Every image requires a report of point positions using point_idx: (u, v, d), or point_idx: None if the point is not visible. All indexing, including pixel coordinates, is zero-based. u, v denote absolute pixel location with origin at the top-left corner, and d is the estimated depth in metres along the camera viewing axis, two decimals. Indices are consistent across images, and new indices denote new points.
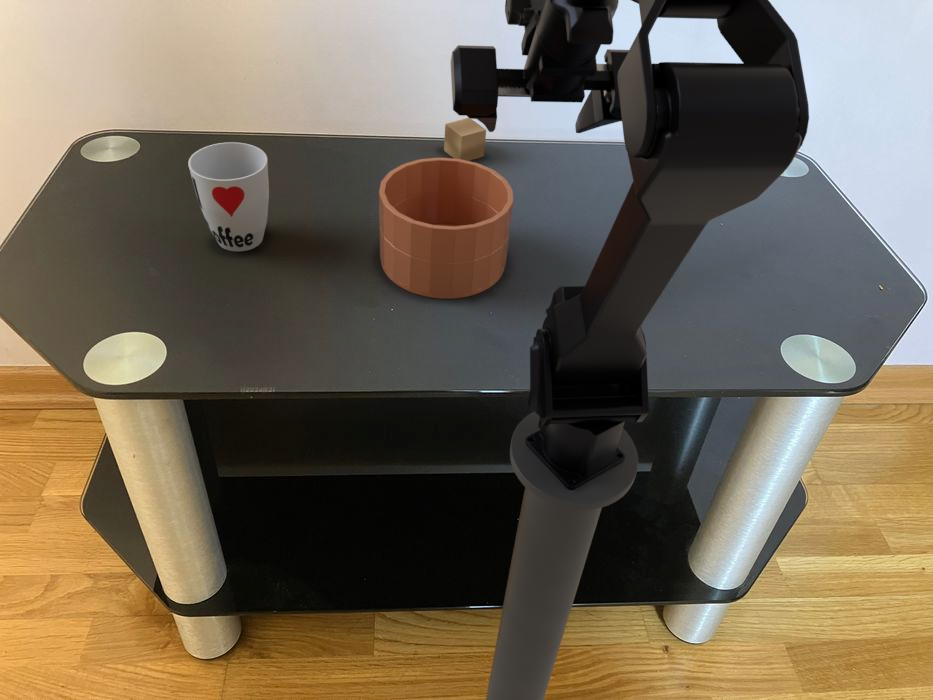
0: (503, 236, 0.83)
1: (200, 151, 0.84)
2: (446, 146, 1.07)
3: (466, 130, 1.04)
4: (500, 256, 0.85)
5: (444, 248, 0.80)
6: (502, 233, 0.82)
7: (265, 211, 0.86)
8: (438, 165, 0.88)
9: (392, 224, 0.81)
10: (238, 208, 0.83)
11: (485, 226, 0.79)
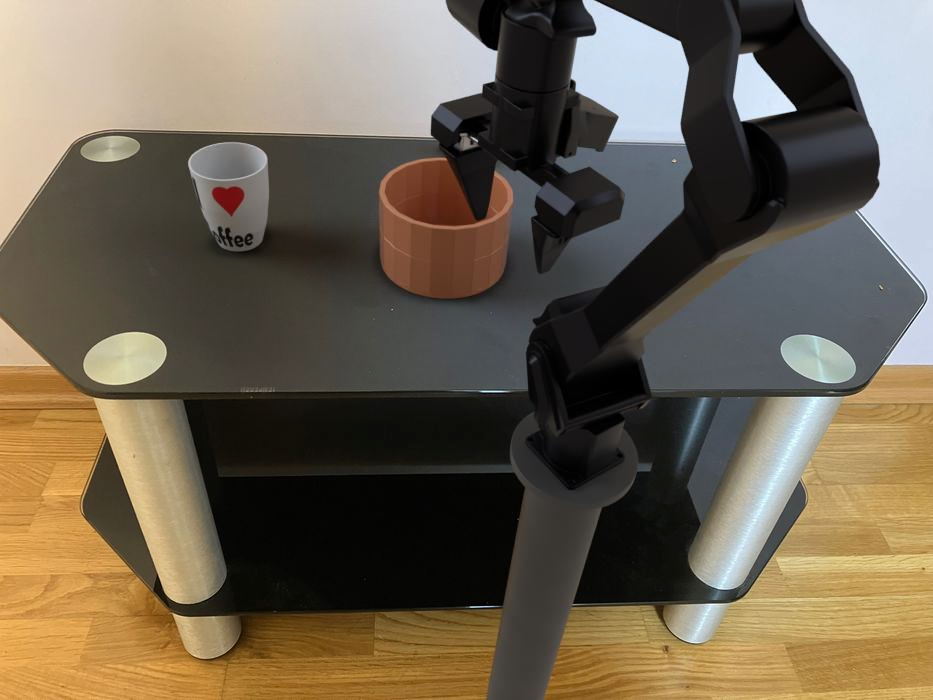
0: (503, 236, 0.83)
1: (200, 151, 0.84)
2: None
3: None
4: (500, 256, 0.85)
5: (444, 248, 0.80)
6: (502, 233, 0.82)
7: (265, 211, 0.86)
8: (438, 165, 0.88)
9: (392, 224, 0.81)
10: (238, 208, 0.83)
11: (485, 226, 0.79)
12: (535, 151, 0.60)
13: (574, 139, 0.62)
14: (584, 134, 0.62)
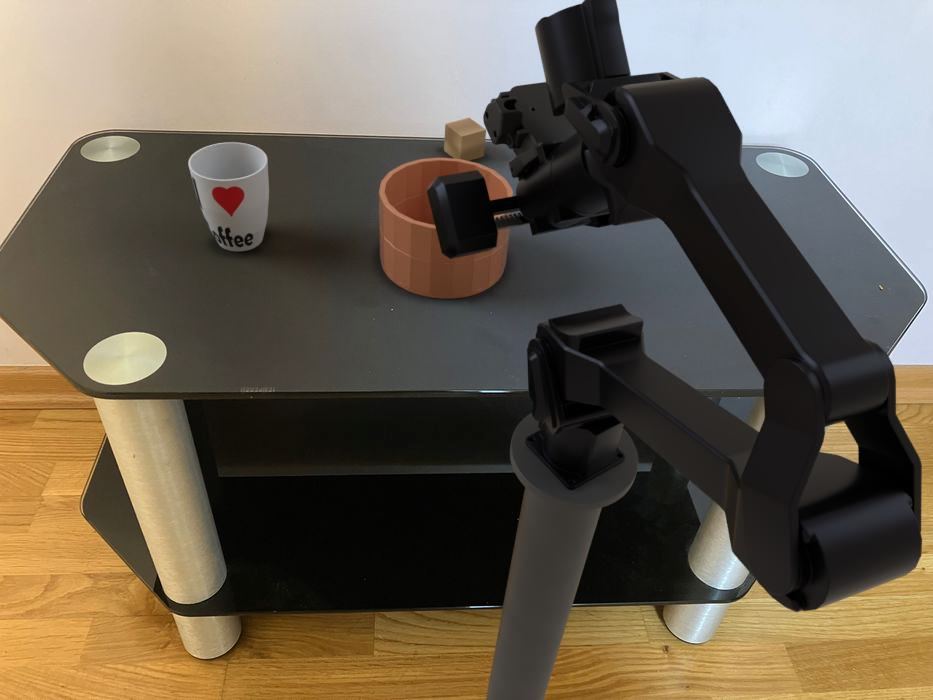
0: (503, 236, 0.83)
1: (200, 151, 0.84)
2: (446, 146, 1.07)
3: (466, 130, 1.04)
4: (500, 256, 0.85)
5: None
6: (502, 233, 0.82)
7: (265, 211, 0.86)
8: (438, 165, 0.88)
9: (392, 224, 0.81)
10: (238, 208, 0.83)
11: None
12: None
13: None
14: None
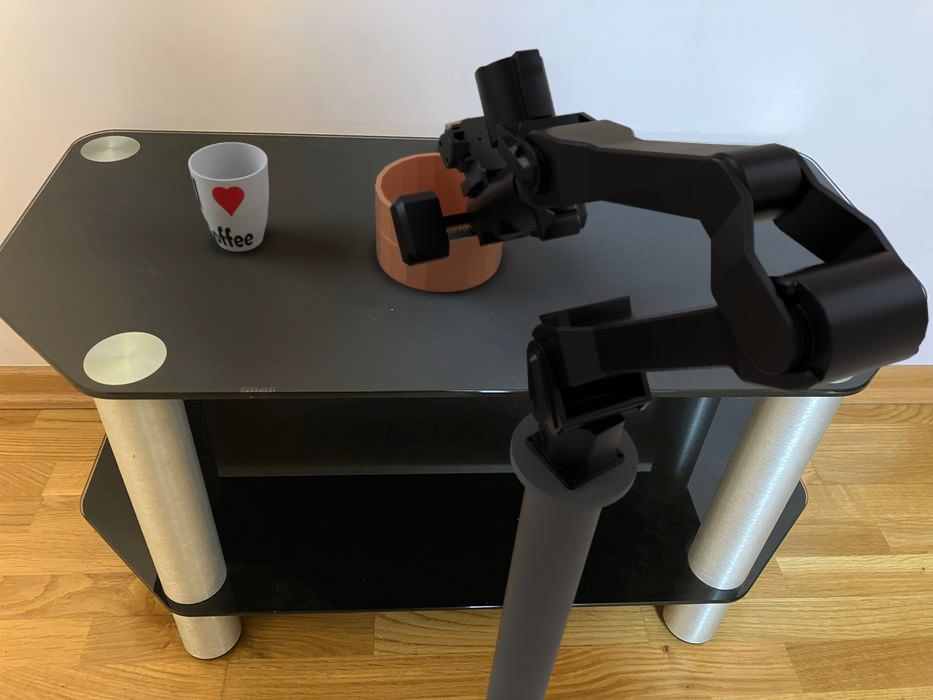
0: None
1: (200, 151, 0.84)
2: None
3: None
4: (495, 250, 0.85)
5: None
6: None
7: (265, 211, 0.86)
8: (433, 160, 0.89)
9: (388, 218, 0.81)
10: (238, 208, 0.83)
11: None
12: None
13: None
14: None
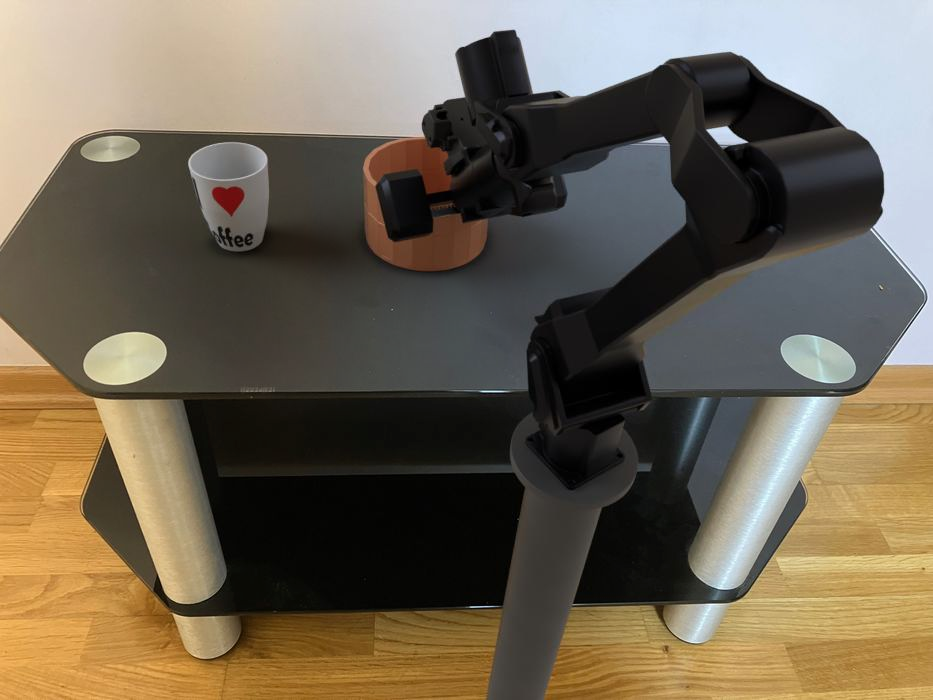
0: None
1: (200, 151, 0.84)
2: None
3: None
4: (480, 230, 0.88)
5: None
6: None
7: (265, 211, 0.86)
8: (421, 144, 0.92)
9: (375, 199, 0.84)
10: (238, 208, 0.83)
11: None
12: None
13: None
14: None
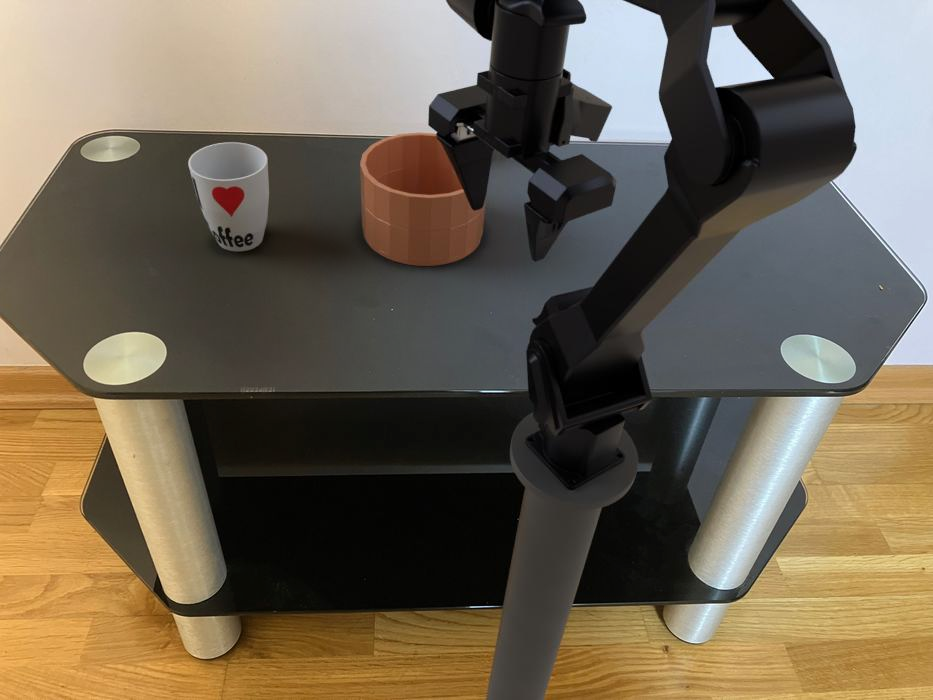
0: None
1: (200, 151, 0.84)
2: None
3: None
4: (476, 226, 0.89)
5: (421, 216, 0.84)
6: None
7: (265, 211, 0.86)
8: (418, 140, 0.92)
9: (372, 194, 0.85)
10: (238, 208, 0.83)
11: (460, 195, 0.83)
12: (528, 138, 0.62)
13: (568, 128, 0.63)
14: (577, 123, 0.64)
